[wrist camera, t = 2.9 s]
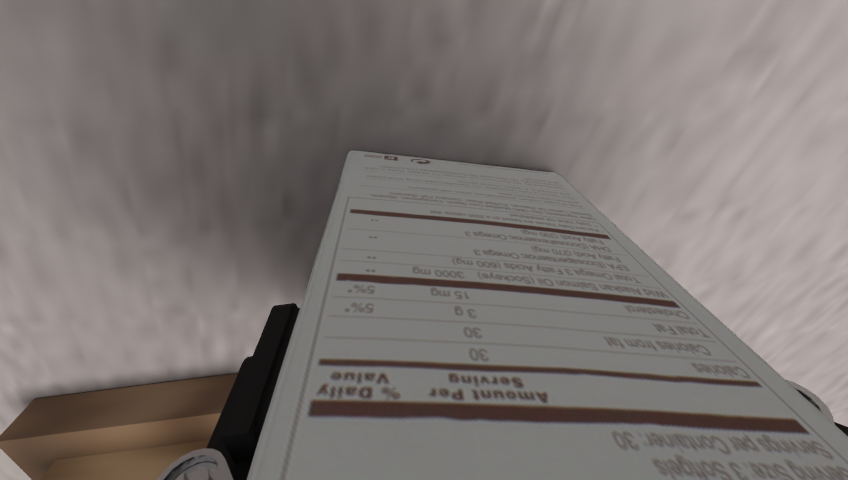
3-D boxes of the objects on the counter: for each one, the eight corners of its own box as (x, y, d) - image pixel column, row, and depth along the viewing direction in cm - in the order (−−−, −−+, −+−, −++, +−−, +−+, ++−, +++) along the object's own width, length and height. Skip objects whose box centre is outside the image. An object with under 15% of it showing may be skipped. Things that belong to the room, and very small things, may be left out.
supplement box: (510, 329, 17) (720, 875, 6) (336, 318, 16) (224, 943, 5) (563, 166, 14) (1236, 747, 3) (346, 139, 13) (84, 874, 2)
